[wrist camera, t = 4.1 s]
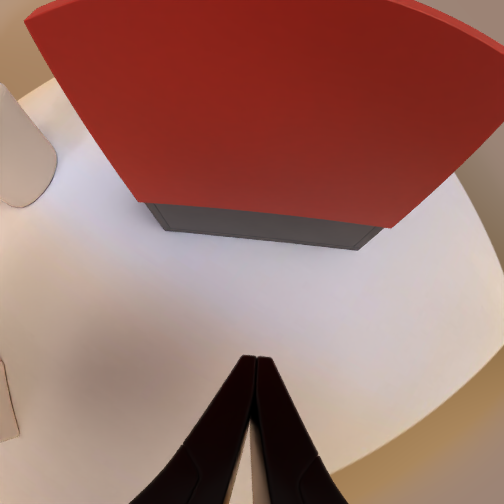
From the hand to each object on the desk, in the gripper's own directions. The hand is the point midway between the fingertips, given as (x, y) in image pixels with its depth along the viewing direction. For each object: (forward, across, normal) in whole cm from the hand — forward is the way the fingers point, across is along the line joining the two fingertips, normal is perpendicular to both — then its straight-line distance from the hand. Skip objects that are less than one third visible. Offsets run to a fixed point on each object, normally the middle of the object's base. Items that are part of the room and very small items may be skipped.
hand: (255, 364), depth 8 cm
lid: (+6, 0, -6) cm, 9 cm away
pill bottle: (+19, +25, 0) cm, 31 cm away
